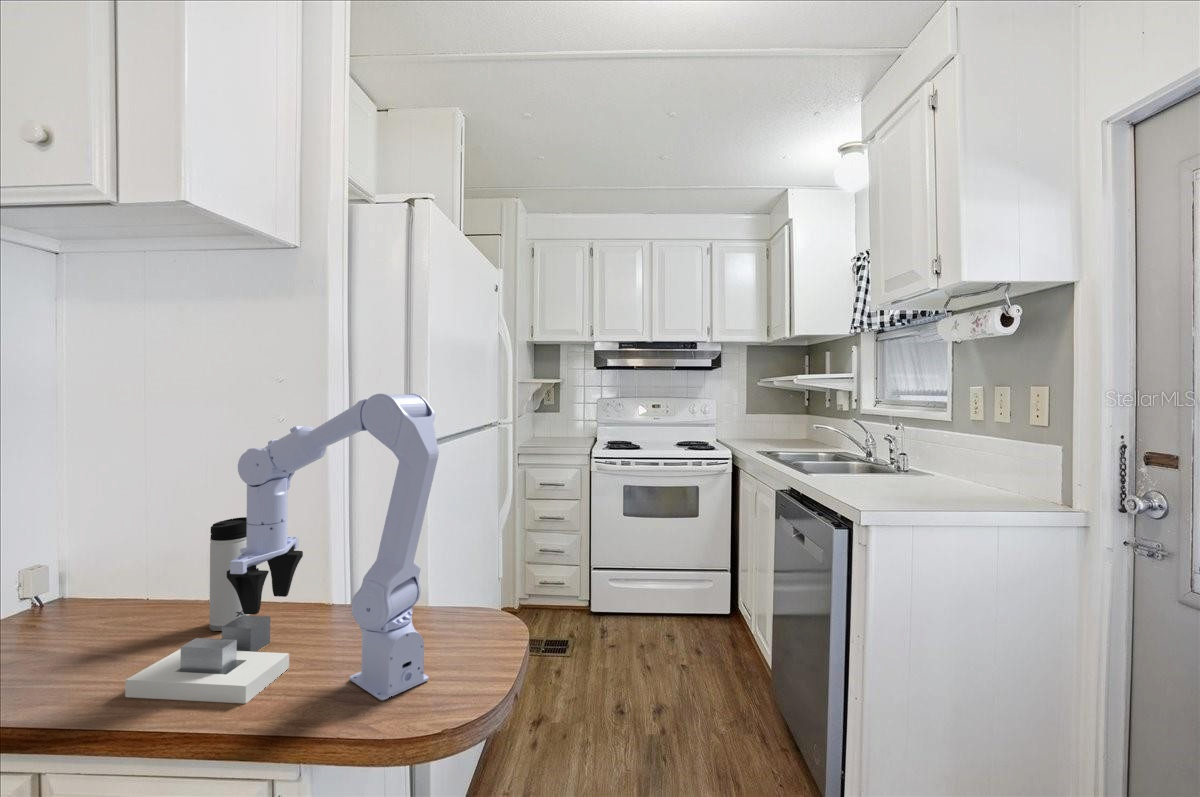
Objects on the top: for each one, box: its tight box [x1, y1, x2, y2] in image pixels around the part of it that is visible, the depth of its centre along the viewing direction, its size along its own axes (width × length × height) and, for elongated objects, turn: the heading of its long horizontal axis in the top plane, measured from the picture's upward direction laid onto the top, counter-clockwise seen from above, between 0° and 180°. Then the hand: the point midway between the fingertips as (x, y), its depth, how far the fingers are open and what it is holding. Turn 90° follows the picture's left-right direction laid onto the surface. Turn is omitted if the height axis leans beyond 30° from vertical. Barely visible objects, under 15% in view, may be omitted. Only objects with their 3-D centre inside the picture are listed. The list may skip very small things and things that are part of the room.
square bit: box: [221, 614, 271, 652], centre depth 96 cm, size 5×5×5 cm
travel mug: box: [208, 516, 250, 632], centre depth 106 cm, size 6×7×20 cm
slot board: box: [124, 648, 290, 704], centre depth 85 cm, size 18×10×2 cm, turn 86°
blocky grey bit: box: [180, 637, 237, 674], centre depth 85 cm, size 6×3×6 cm, turn 87°
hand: (266, 604), depth 92 cm, fingers open, 7 cm apart
